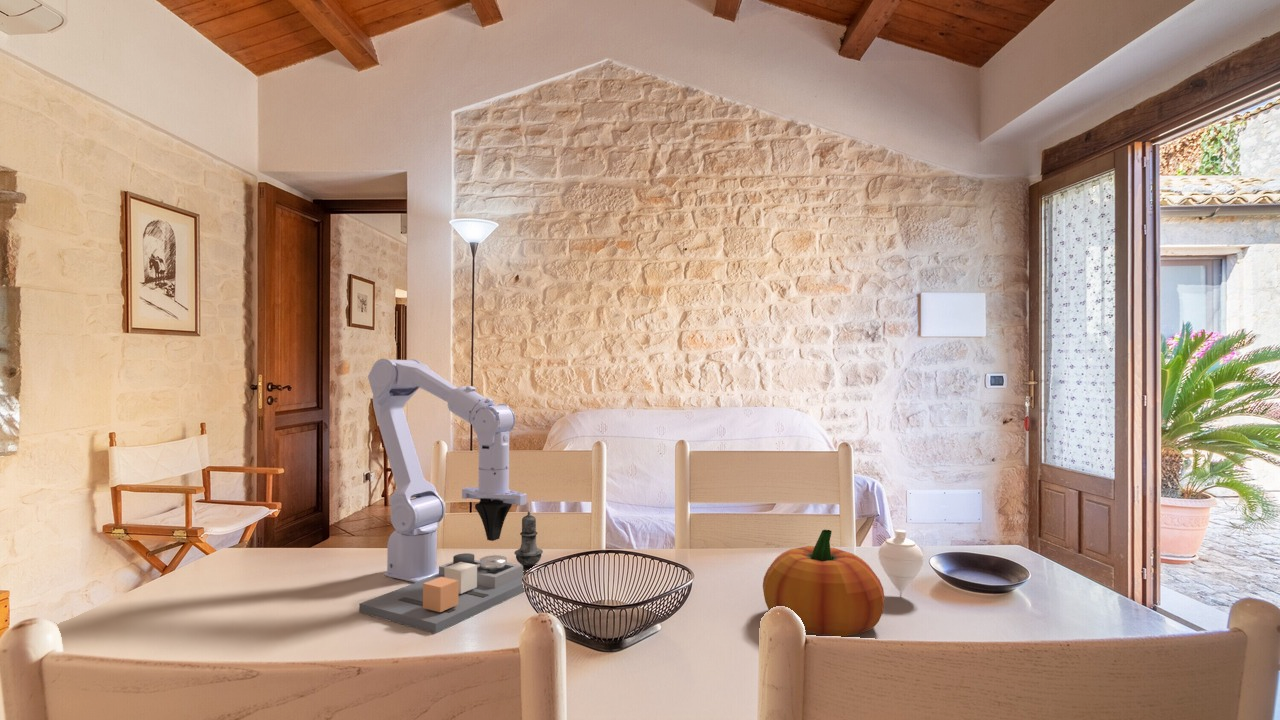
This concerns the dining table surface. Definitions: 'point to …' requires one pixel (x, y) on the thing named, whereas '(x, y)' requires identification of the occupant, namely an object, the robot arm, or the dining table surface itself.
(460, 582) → the lever middle
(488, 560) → the button silver
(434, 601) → the lever near
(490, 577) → the panel
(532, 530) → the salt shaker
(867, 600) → the pumpkin
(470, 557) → the button black
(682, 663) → the dining table surface
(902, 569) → the spinning top
